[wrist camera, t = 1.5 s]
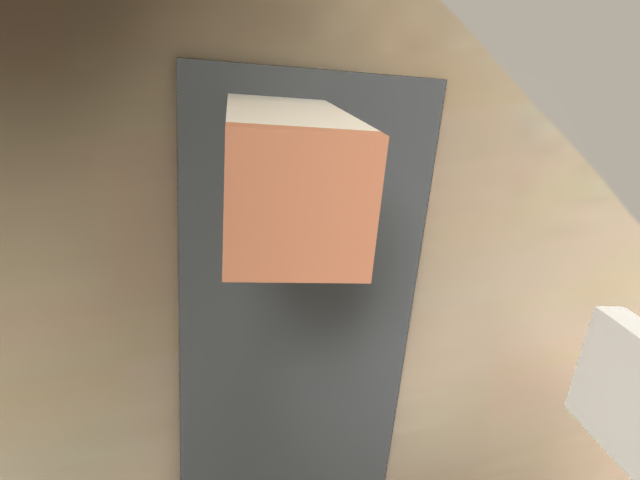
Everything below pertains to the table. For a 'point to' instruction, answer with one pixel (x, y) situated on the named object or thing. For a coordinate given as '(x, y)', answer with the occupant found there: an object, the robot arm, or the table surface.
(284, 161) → the cream block
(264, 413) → the rubber mat
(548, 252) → the table surface
